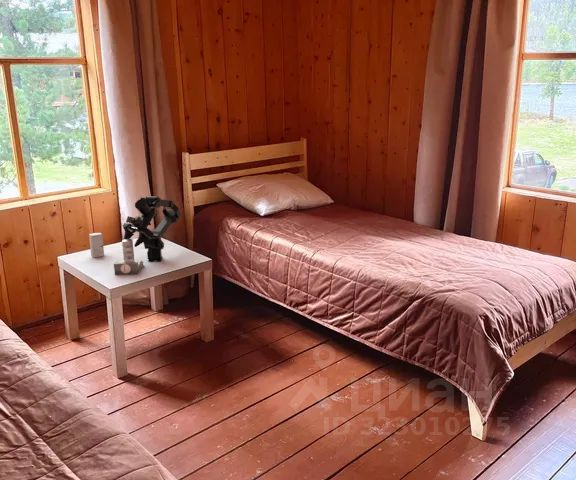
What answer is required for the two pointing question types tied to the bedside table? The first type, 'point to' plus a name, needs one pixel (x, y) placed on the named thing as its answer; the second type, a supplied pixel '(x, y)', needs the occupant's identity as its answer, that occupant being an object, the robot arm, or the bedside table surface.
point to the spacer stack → (128, 250)
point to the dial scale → (128, 267)
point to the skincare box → (96, 244)
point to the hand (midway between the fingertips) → (129, 244)
